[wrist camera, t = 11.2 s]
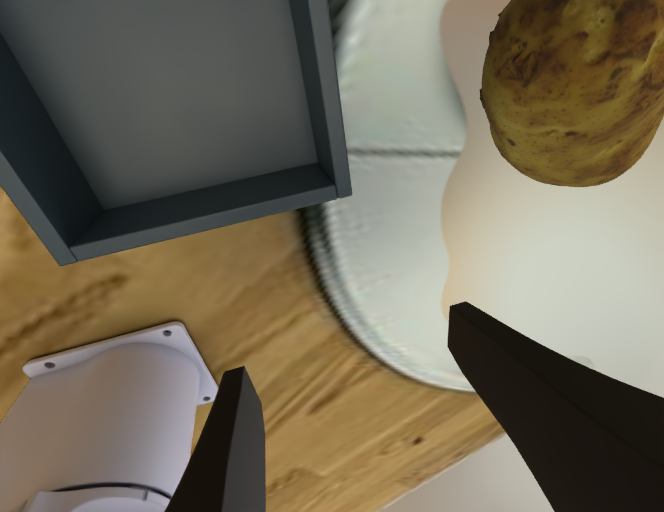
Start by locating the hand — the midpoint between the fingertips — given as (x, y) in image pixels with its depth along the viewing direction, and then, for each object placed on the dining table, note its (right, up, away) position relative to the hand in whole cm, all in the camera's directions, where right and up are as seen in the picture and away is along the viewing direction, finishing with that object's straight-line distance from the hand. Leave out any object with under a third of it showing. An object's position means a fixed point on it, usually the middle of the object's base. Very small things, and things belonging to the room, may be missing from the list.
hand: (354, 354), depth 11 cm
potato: (+10, +13, +8) cm, 18 cm away
